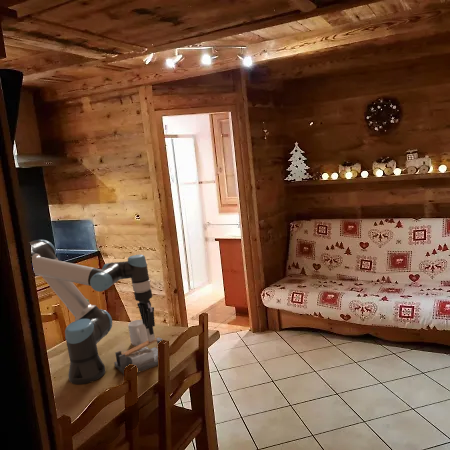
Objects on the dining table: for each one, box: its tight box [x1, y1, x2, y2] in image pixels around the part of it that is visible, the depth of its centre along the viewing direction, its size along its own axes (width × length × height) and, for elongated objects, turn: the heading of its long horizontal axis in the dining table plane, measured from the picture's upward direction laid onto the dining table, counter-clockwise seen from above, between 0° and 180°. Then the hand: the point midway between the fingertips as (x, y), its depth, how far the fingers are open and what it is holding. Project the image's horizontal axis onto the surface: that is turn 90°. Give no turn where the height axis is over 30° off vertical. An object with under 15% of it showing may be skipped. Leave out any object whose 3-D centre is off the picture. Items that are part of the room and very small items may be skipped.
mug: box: [127, 319, 148, 347], centre depth 218 cm, size 12×8×10 cm
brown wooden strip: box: [118, 339, 157, 357], centre depth 196 cm, size 18×3×1 cm, turn 124°
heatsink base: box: [113, 337, 164, 375], centre depth 197 cm, size 21×14×8 cm
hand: (151, 340), depth 199 cm, fingers closed
